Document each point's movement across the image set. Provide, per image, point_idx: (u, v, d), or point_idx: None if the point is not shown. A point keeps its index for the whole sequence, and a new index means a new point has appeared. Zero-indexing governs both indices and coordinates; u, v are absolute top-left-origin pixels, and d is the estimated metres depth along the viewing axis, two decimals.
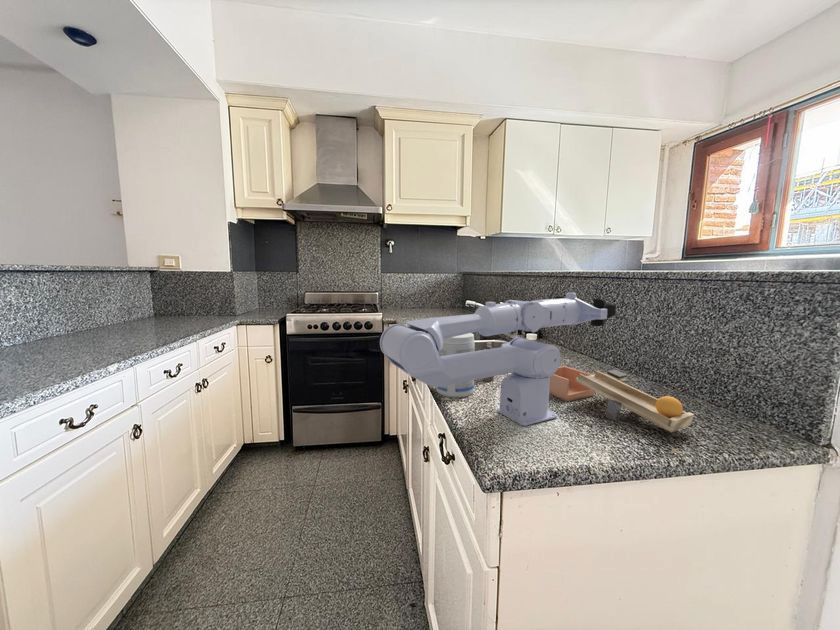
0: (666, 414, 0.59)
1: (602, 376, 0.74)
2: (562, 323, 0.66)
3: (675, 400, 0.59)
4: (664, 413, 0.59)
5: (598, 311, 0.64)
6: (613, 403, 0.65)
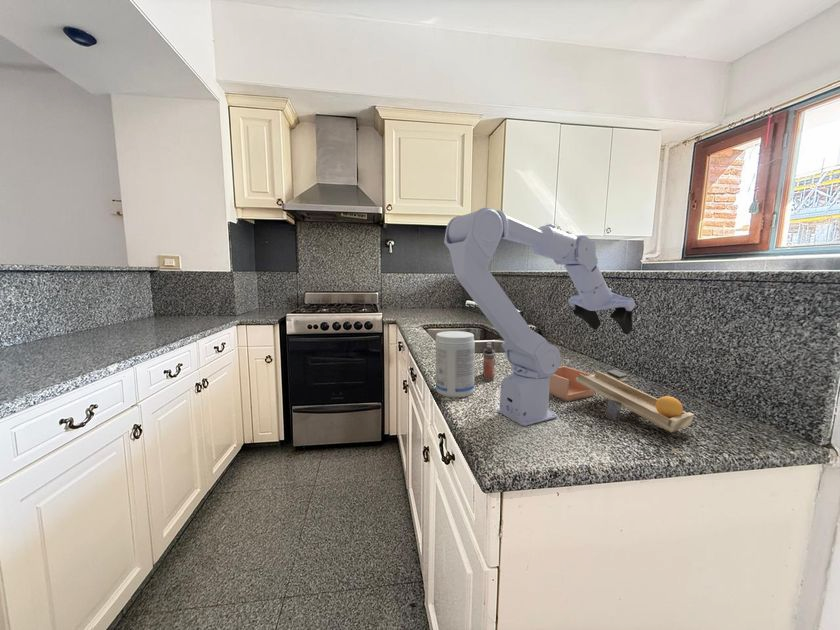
0: (666, 414, 0.59)
1: (602, 376, 0.74)
2: (592, 291, 0.69)
3: (675, 400, 0.59)
4: (664, 413, 0.59)
5: None
6: (613, 403, 0.65)
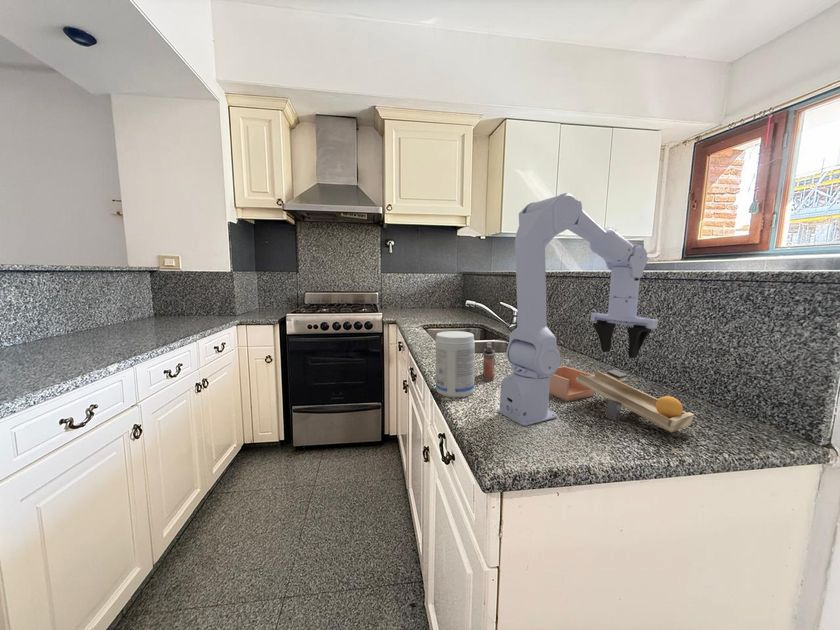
0: (666, 414, 0.59)
1: (602, 376, 0.74)
2: (625, 299, 0.72)
3: (675, 400, 0.59)
4: (664, 413, 0.59)
5: None
6: (613, 403, 0.65)
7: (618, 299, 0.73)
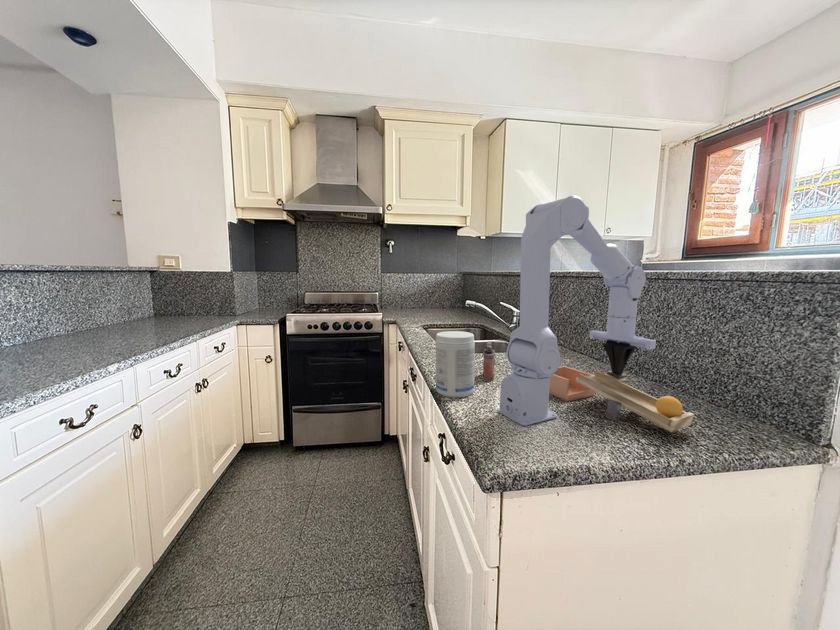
0: (666, 413, 0.59)
1: (602, 376, 0.74)
2: (623, 319, 0.73)
3: (675, 400, 0.59)
4: (664, 413, 0.59)
5: None
6: (613, 403, 0.65)
7: (616, 319, 0.74)
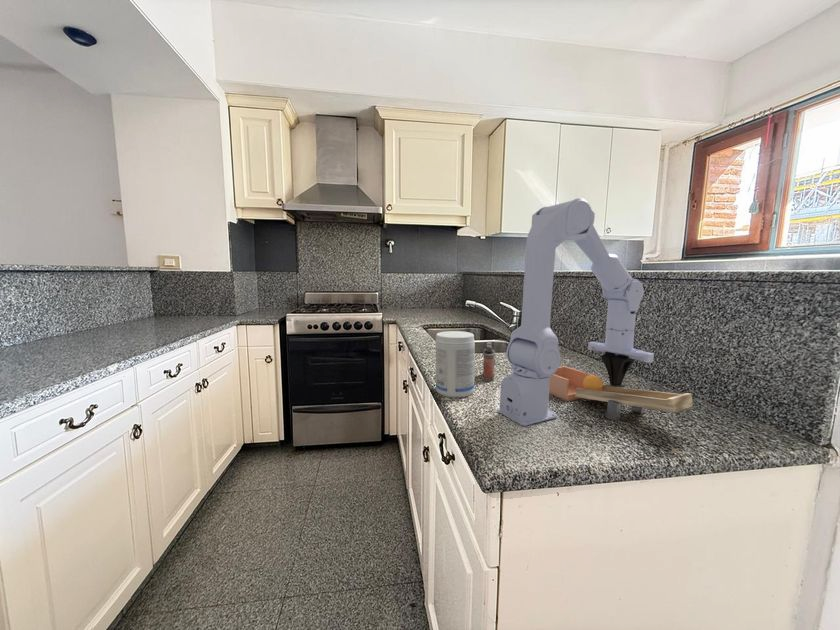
0: (591, 383, 0.72)
1: None
2: (622, 332, 0.73)
3: (586, 377, 0.75)
4: (591, 385, 0.72)
5: None
6: (613, 403, 0.65)
7: (615, 331, 0.74)
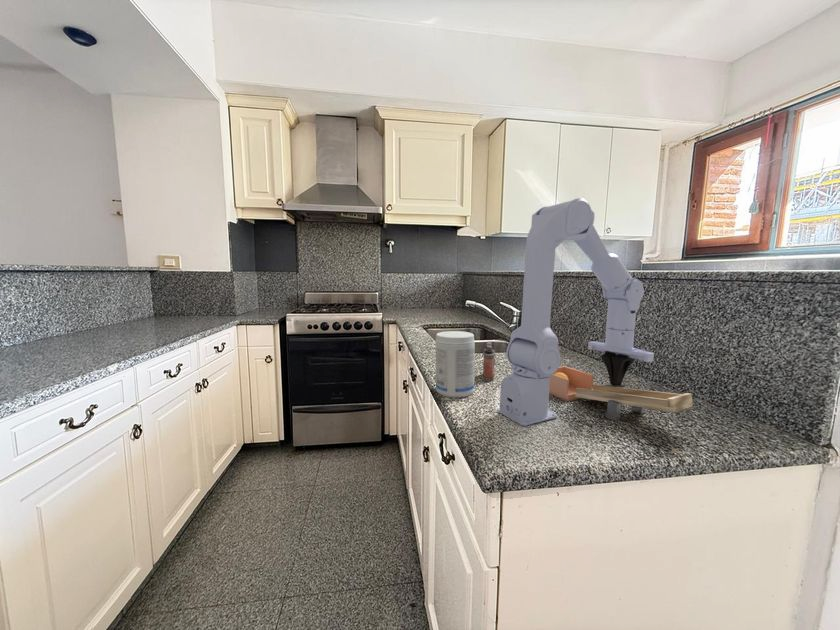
0: None
1: (600, 387, 0.75)
2: (622, 331, 0.73)
3: (560, 373, 0.82)
4: None
5: None
6: (613, 403, 0.65)
7: (615, 331, 0.74)
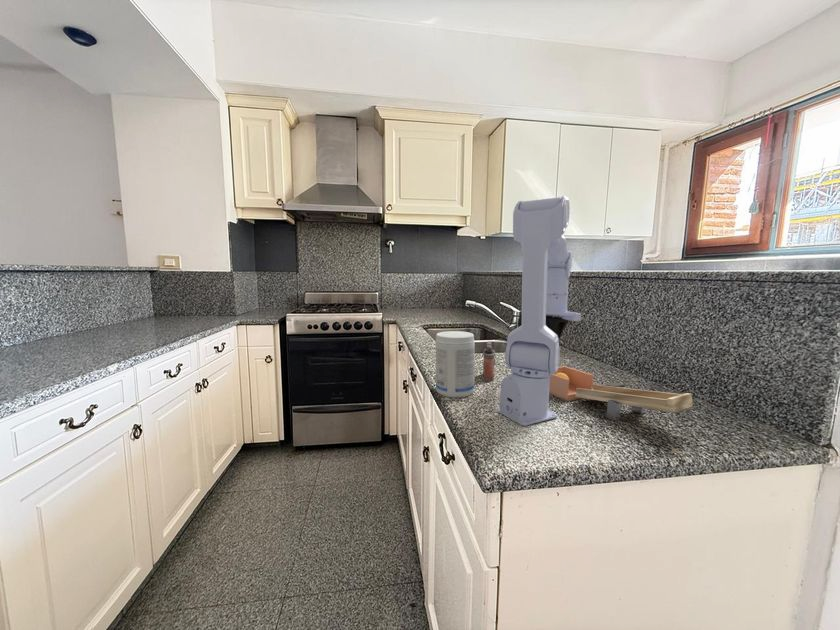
0: None
1: (600, 387, 0.75)
2: (556, 295, 0.84)
3: (561, 373, 0.81)
4: None
5: None
6: (613, 403, 0.65)
7: (550, 296, 0.85)
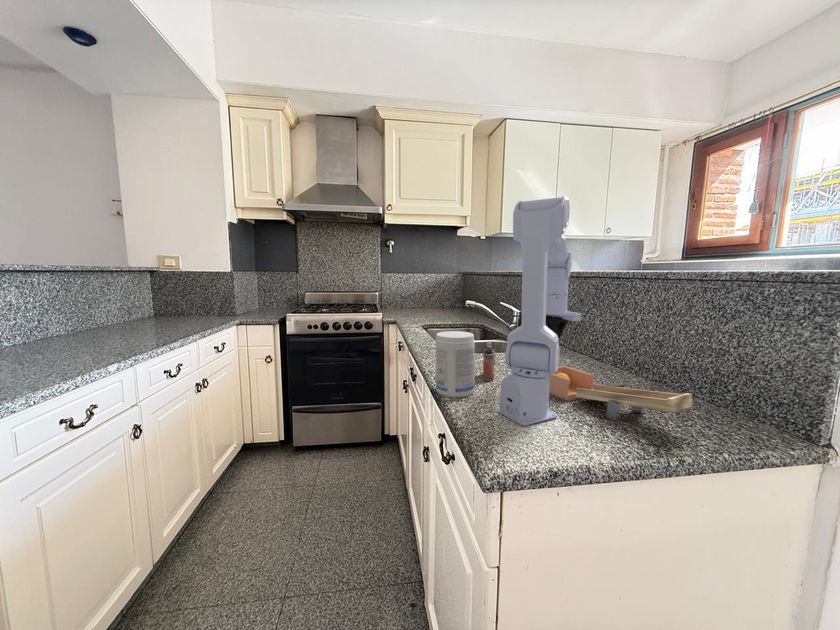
0: None
1: (600, 387, 0.75)
2: (556, 295, 0.84)
3: (563, 374, 0.81)
4: None
5: None
6: (613, 403, 0.65)
7: (550, 296, 0.85)
